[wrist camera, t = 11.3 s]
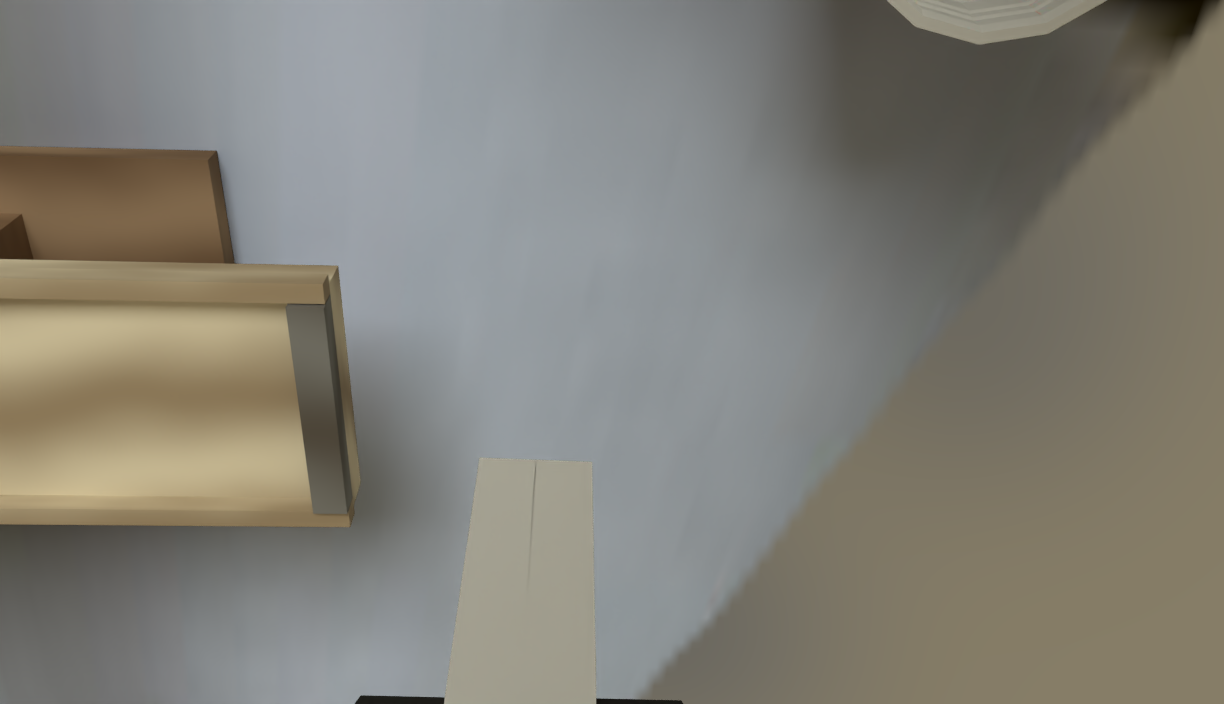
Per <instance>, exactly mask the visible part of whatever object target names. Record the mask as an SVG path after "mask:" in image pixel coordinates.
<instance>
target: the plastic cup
mask: <svg viewBox="0 0 1224 704" xmlns="http://www.w3.org/2000/svg"><path fill="white" fill-rule="evenodd" d="M887 1H888V2H889V3H890V4H891V5H892V6H893V7H894V8H895V9H897V10H898V11H899V12H900V13H901V14H902V15H903V16H904V17H905V18H906V19H907V20H908V21H910V22H911V23H912V24H913V25H914V26H915V27H918V28H921V29H925V30H928V31H932V32H935V33H939V34H942V35H946V36H949V37H953V38H957V39H960V40H964V41H967V42H971V43H974V44H978V45H980V44H987V43H993V42H1000V41H1006V40H1012V39H1019V38H1025V37H1032V36H1038V35H1045V34H1049V33H1050V32H1052V31H1054V30H1056V29H1057V28H1059V27H1061V26H1063V25H1064V24H1066V23H1068V22H1070V21H1071V20H1073V19H1075V18H1077V17H1078V16H1080V15H1082V14H1084V13H1086V12H1087V11H1089V10H1091V9H1093V8H1094V7H1096V6H1098V5H1100V4H1101V3H1103V2H1105V1H1107V0H887Z"/></svg>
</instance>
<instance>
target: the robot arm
mask: <svg viewBox="0 0 1224 704" xmlns="http://www.w3.org/2000/svg"><path fill="white" fill-rule="evenodd" d="M355 704H683V703H682V701H677V700H674V701H673V700H635V699H596V657H595V600H594V543H593V485H592V462H580V461H554V460H527V459H500V458H479V465H478V472H477V479H476V486H475V493H474V500H473V506H472V513H471V520H470V527H469V534H468V541H467V548H466V555H465V562H464V568H463V575H462V582H461V589H460V596H459V603H458V610H457V617H456V624H455V631H454V637H453V644H452V651H451V658H450V665H449V672H448V679H447V686H446V693H445V698H442V697H400V696H360V697H359V699H358V700H357V701H356V703H355Z"/></svg>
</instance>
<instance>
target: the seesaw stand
mask: <svg viewBox="0 0 1224 704" xmlns="http://www.w3.org/2000/svg"><path fill="white" fill-rule="evenodd" d="M0 259H19V260H70V261H121V262H172V263H223V264H234V258H233V251H232V245H231V239H230V232H229V226H228V220H227V214H226V207H225V201H224V195H223V188H222V182H221V176H220V169H219V163H218V157H217V151H200V150H155V149H110V148H65V147H20V146H0Z"/></svg>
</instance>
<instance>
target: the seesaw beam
mask: <svg viewBox="0 0 1224 704" xmlns="http://www.w3.org/2000/svg"><path fill="white" fill-rule="evenodd" d="M360 484H361V481H360V471H359V462H358V452H357V442H356V433H355V423H354V414H353V404H352V395H351V385H350V375H349V366H348V356H347V347H346V337H345V328H344V318H343V308H342V299H341V289H340V280H339V270H338V266H324V265H274V264H223V263H172V262H121V261H70V260H19V259H0V524H29V525H152V526H275V527H350V526H351V523H352V520H353V516H354V503H355V500H356V496H357V493H358V490H359V487H360Z"/></svg>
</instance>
